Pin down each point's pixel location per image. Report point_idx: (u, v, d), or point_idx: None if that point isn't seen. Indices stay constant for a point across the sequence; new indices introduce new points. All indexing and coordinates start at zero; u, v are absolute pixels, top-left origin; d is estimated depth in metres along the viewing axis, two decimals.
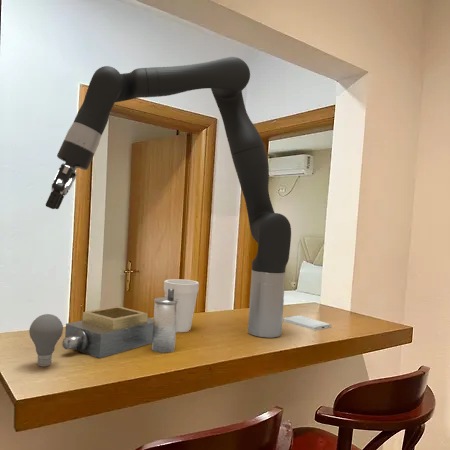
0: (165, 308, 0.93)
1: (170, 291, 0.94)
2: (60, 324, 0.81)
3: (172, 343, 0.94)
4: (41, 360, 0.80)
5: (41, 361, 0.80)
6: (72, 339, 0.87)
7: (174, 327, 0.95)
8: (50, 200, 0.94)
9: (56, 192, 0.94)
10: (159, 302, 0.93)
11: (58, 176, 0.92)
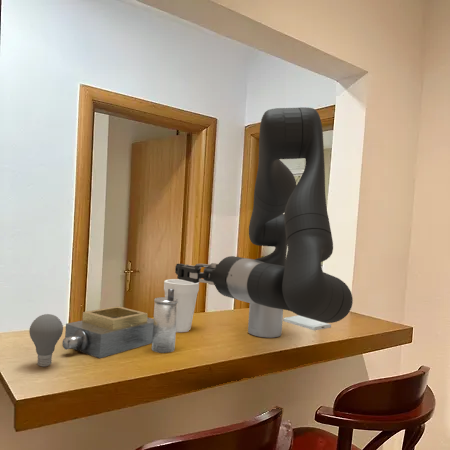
0: (165, 308, 0.93)
1: (170, 291, 0.94)
2: (60, 324, 0.81)
3: (172, 343, 0.94)
4: (41, 360, 0.80)
5: (41, 361, 0.80)
6: (72, 339, 0.87)
7: (174, 327, 0.95)
8: None
9: None
10: (159, 302, 0.93)
11: None
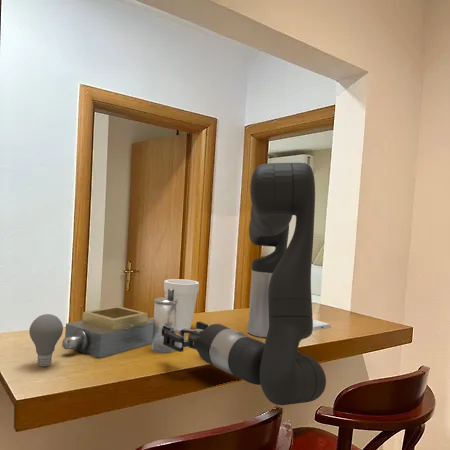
0: (165, 308, 0.93)
1: (170, 291, 0.94)
2: (60, 324, 0.81)
3: None
4: (41, 360, 0.80)
5: (41, 361, 0.80)
6: (72, 339, 0.87)
7: (174, 327, 0.95)
8: None
9: None
10: (159, 302, 0.93)
11: None
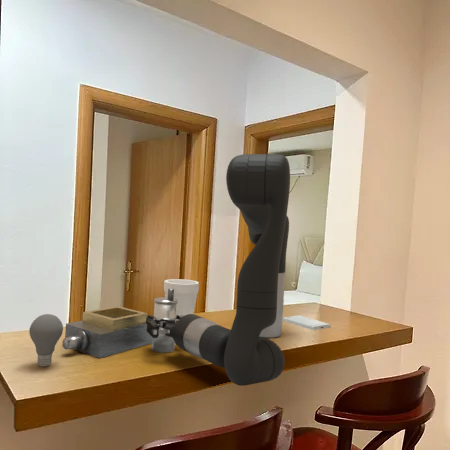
0: (165, 308, 0.93)
1: (170, 291, 0.94)
2: (60, 324, 0.81)
3: (172, 343, 0.94)
4: (41, 360, 0.80)
5: (41, 361, 0.80)
6: (72, 339, 0.87)
7: None
8: None
9: None
10: (159, 302, 0.93)
11: None
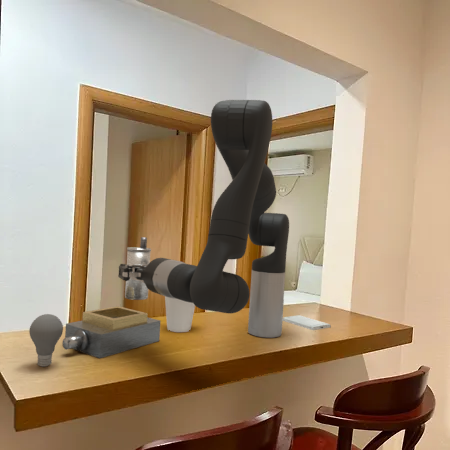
0: (137, 255, 0.94)
1: (143, 239, 0.95)
2: (60, 324, 0.81)
3: (144, 291, 0.95)
4: (41, 360, 0.80)
5: (41, 361, 0.80)
6: (72, 339, 0.87)
7: None
8: None
9: None
10: (131, 249, 0.94)
11: None
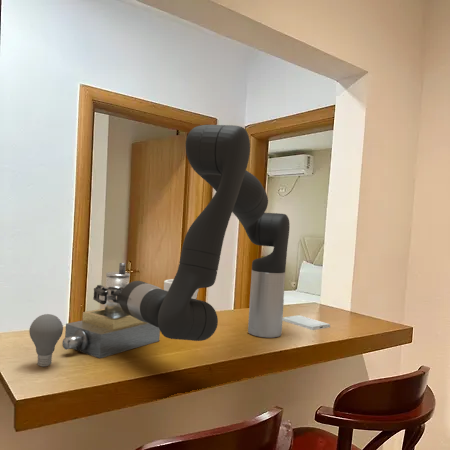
0: (115, 281, 0.95)
1: (121, 265, 0.96)
2: (60, 324, 0.81)
3: (123, 316, 0.96)
4: (41, 360, 0.80)
5: (41, 361, 0.80)
6: (72, 339, 0.87)
7: None
8: None
9: None
10: (110, 275, 0.95)
11: None
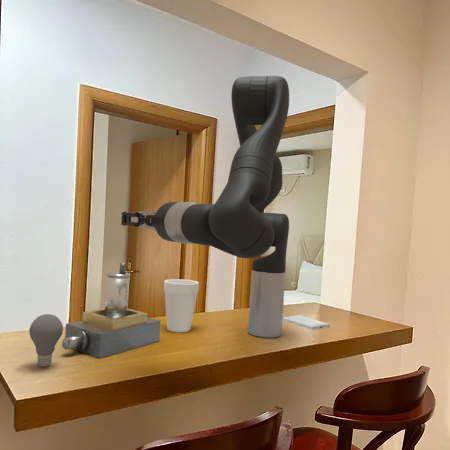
0: (116, 281, 0.95)
1: (122, 265, 0.96)
2: (60, 324, 0.81)
3: (123, 316, 0.96)
4: (41, 360, 0.80)
5: (41, 361, 0.80)
6: (72, 339, 0.87)
7: (125, 300, 0.96)
8: None
9: None
10: (110, 275, 0.95)
11: None
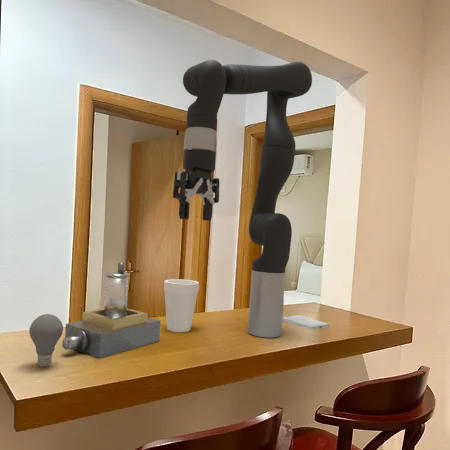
0: (114, 281, 0.95)
1: (120, 265, 0.96)
2: (60, 324, 0.81)
3: (122, 316, 0.96)
4: (41, 360, 0.80)
5: (41, 361, 0.80)
6: (72, 339, 0.87)
7: (125, 300, 0.96)
8: None
9: None
10: (108, 275, 0.95)
11: None
